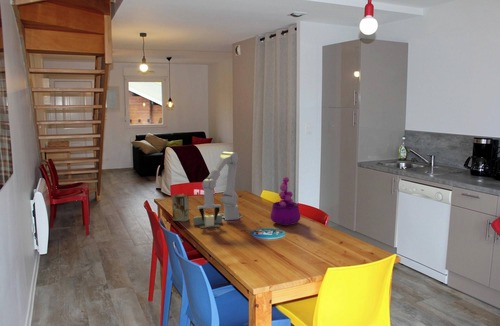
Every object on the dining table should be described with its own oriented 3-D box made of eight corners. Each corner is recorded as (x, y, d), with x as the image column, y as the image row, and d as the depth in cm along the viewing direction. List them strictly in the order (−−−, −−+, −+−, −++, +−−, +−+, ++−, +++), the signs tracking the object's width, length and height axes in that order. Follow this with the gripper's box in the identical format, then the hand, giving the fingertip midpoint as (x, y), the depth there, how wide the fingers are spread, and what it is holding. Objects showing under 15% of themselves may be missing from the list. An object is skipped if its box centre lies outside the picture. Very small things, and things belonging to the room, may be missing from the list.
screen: (221, 222, 265) (221, 214, 264) (222, 223, 264) (221, 215, 263) (193, 224, 260) (193, 217, 259) (193, 225, 259) (193, 217, 258)
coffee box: (189, 219, 272) (189, 195, 270) (185, 221, 266) (184, 197, 264) (176, 217, 275) (176, 194, 273) (172, 220, 269) (171, 196, 267)
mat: (217, 223, 263) (217, 222, 262) (220, 227, 255) (220, 226, 255) (198, 225, 259) (198, 224, 259) (200, 228, 252) (200, 228, 251)
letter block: (212, 223, 260) (212, 214, 259) (214, 226, 256) (213, 216, 255) (204, 224, 259) (204, 214, 258) (206, 226, 254) (205, 216, 253)
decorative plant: (298, 228, 252) (299, 180, 248) (268, 227, 256) (268, 178, 251) (301, 220, 270) (302, 174, 266) (272, 218, 274) (273, 173, 269)
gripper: (198, 200, 249) (198, 222, 251) (222, 199, 253) (222, 220, 255) (196, 198, 255) (196, 219, 257) (219, 196, 260) (219, 217, 261)
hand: (209, 220), depth 257 cm, fingers open, 7 cm apart
